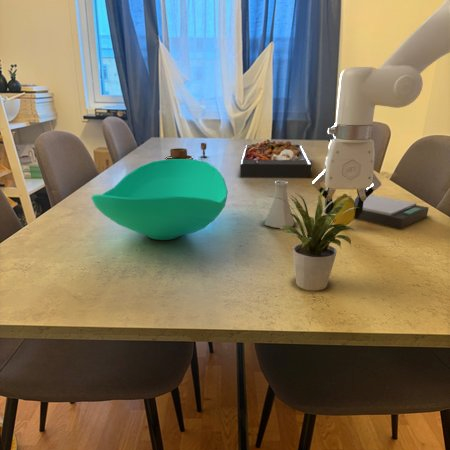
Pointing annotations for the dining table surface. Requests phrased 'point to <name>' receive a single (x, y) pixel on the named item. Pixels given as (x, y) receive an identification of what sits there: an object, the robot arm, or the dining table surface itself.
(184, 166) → the table top decor
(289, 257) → the dining table surface
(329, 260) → the house plant
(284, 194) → the flask
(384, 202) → the scale
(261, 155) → the food platter
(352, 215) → the lemon
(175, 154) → the place setting
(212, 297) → the dining table surface
